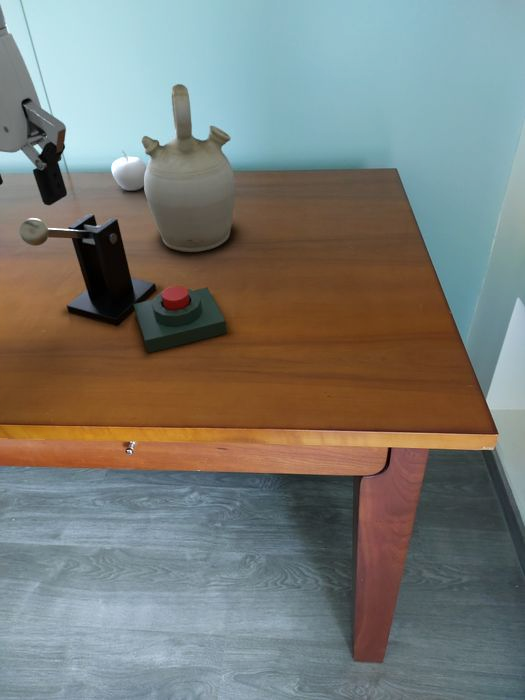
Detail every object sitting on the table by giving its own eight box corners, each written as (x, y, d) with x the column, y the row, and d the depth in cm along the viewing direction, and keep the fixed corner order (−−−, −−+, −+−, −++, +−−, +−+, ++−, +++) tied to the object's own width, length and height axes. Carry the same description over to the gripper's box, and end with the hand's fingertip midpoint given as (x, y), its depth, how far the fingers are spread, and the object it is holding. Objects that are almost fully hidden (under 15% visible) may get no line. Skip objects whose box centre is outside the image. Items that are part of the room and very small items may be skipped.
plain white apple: (118, 182, 115) (110, 145, 110) (151, 180, 116) (144, 143, 110) (113, 195, 110) (104, 157, 105) (147, 193, 110) (140, 155, 105)
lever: (33, 247, 61) (34, 219, 60) (12, 242, 62) (13, 215, 62) (111, 248, 74) (113, 225, 73) (92, 244, 75) (94, 222, 74)
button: (166, 313, 70) (164, 303, 69) (161, 299, 73) (159, 289, 72) (192, 307, 71) (191, 296, 70) (186, 294, 74) (184, 283, 73)
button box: (147, 353, 70) (142, 329, 67) (136, 316, 76) (130, 293, 74) (226, 333, 73) (224, 309, 70) (208, 299, 79) (206, 276, 77)
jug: (243, 216, 100) (234, 71, 84) (232, 258, 88) (219, 98, 72) (164, 216, 101) (140, 73, 85) (144, 257, 90) (111, 100, 74)
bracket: (117, 325, 75) (96, 245, 67) (68, 312, 78) (41, 233, 70) (156, 289, 82) (141, 212, 74) (109, 278, 85) (90, 203, 77)
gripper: (-137, 23, 49) (-58, 196, 60) (-1, 29, 43) (59, 220, 55) (-70, 10, 54) (-8, 172, 66) (60, 14, 49) (104, 191, 60)
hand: (23, 194), depth 60 cm, fingers open, 9 cm apart
